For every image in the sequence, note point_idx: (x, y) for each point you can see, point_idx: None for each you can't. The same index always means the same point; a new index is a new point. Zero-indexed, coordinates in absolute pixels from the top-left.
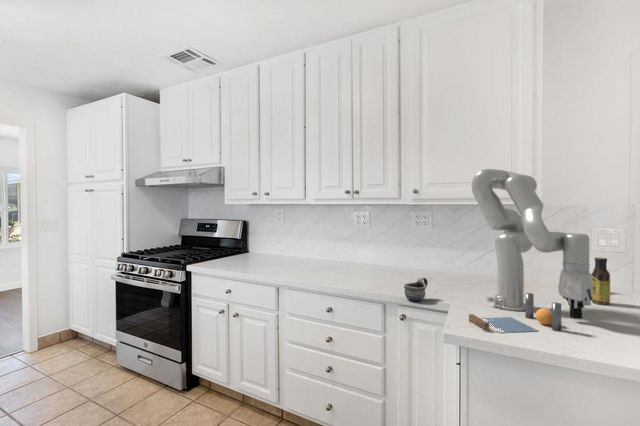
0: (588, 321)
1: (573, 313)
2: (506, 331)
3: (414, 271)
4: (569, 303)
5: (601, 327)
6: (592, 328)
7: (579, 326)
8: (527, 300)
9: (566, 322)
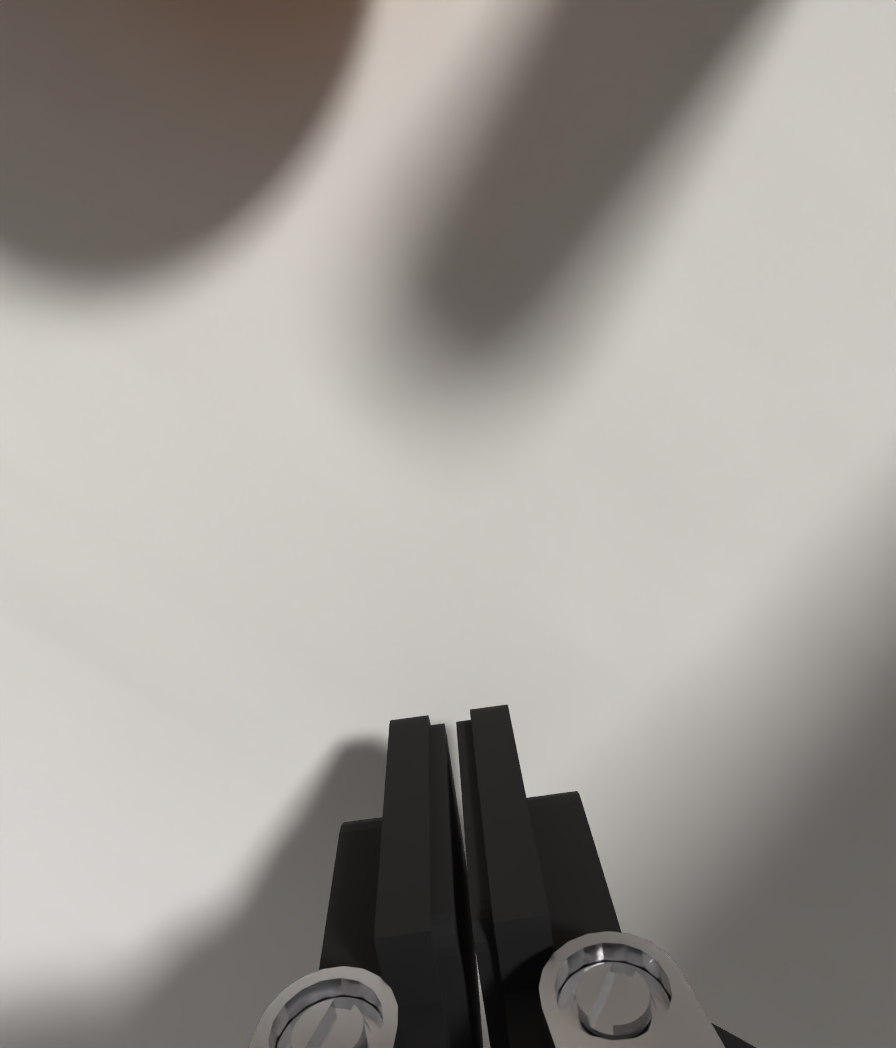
0: None
1: (392, 795)
2: None
3: None
4: (664, 1035)
5: (156, 992)
6: (65, 806)
7: (162, 633)
8: None
9: (426, 524)
